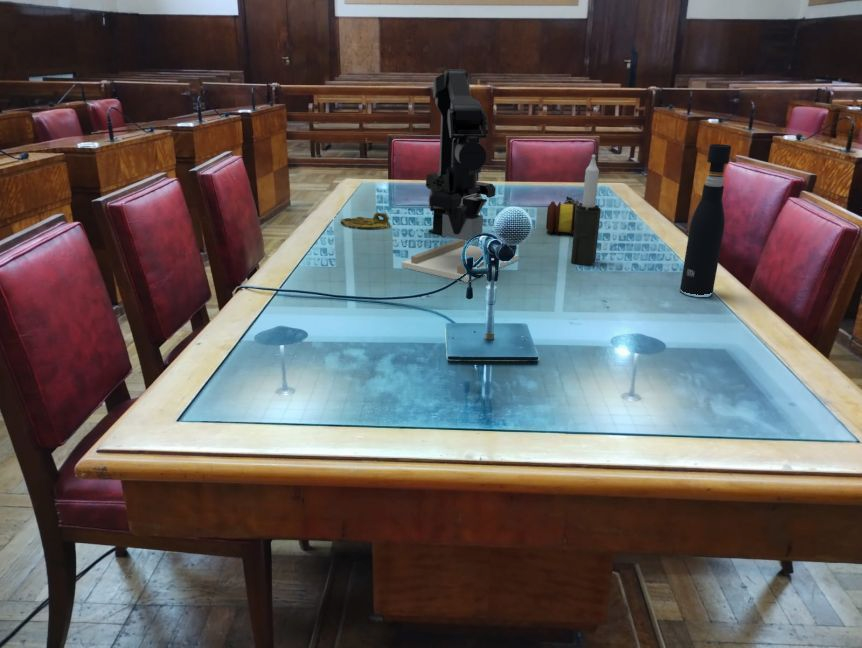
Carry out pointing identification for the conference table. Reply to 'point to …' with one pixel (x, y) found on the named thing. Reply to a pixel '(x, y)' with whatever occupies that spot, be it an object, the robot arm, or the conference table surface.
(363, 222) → the seal
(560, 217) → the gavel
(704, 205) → the black water bottle
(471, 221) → the block
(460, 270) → the plate
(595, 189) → the candle
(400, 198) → the conference table surface
